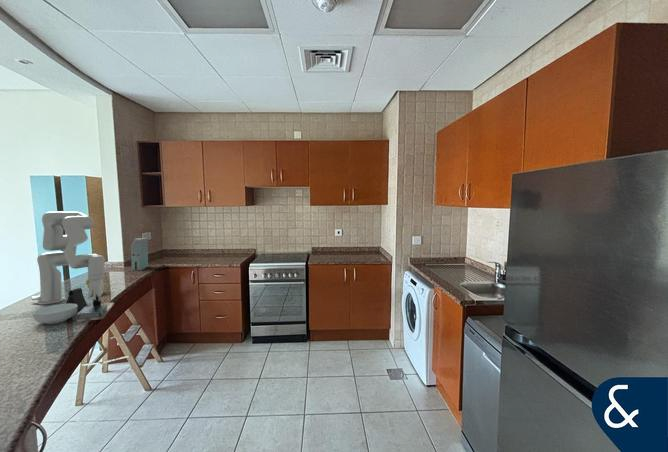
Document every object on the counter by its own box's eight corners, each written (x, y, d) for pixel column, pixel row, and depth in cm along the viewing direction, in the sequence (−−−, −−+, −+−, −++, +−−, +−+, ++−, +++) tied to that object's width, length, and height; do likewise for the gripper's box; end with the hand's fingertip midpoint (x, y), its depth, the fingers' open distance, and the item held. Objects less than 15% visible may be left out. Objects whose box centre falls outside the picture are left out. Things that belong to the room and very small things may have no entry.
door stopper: (63, 310, 164) (62, 290, 164) (72, 307, 170) (71, 287, 170) (79, 311, 165) (79, 290, 164) (87, 307, 171) (87, 288, 170)
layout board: (76, 321, 150) (76, 319, 149) (91, 306, 173) (91, 304, 173) (102, 318, 155) (102, 316, 154) (114, 304, 178) (114, 302, 178)
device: (139, 266, 287) (139, 237, 286) (148, 266, 289) (147, 237, 287) (131, 270, 271) (131, 239, 269) (140, 270, 273) (140, 239, 271)
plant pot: (101, 289, 207) (101, 276, 207) (108, 292, 202) (107, 278, 201) (83, 292, 198) (83, 279, 198) (89, 295, 193) (89, 281, 193)
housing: (77, 319, 149) (77, 313, 149) (84, 312, 160) (84, 306, 159) (101, 316, 153) (101, 311, 153) (106, 309, 164) (106, 304, 164)
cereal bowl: (74, 313, 162) (74, 301, 161) (80, 321, 151) (80, 308, 151) (31, 321, 148) (31, 308, 148) (34, 330, 138) (34, 316, 138)
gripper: (92, 274, 167) (92, 304, 168) (83, 280, 154) (84, 313, 155) (108, 273, 171) (108, 303, 172) (101, 279, 158) (101, 311, 159)
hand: (97, 307), depth 163 cm, fingers closed
